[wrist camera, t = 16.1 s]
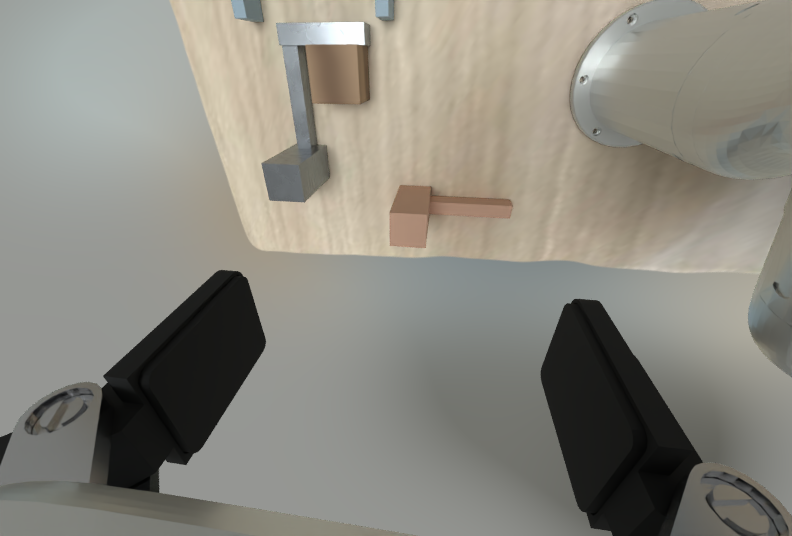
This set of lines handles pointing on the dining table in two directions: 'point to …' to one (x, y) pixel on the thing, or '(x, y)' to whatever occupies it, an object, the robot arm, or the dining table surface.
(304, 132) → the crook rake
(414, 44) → the dining table surface
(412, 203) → the salmon l-shaped piece
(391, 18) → the cubby
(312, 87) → the walnut block
